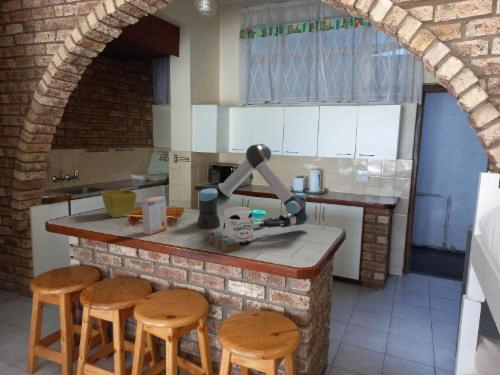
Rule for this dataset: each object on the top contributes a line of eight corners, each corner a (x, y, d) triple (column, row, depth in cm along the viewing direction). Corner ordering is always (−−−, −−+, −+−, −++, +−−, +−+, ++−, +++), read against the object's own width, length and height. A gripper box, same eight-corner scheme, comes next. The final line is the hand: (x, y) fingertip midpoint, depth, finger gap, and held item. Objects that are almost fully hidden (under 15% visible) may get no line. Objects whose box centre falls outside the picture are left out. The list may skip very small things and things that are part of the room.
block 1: (214, 240, 199) (214, 232, 198) (222, 240, 199) (222, 232, 198) (213, 242, 194) (213, 234, 194) (222, 242, 195) (222, 234, 194)
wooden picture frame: (203, 239, 199) (203, 232, 198) (218, 237, 204) (218, 229, 203) (224, 252, 179) (224, 243, 178) (240, 249, 184) (240, 241, 183)
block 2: (221, 247, 187) (221, 239, 186) (226, 245, 190) (226, 237, 190) (228, 249, 184) (228, 240, 184) (233, 246, 188) (233, 238, 187)
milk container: (244, 248, 185) (244, 214, 183) (216, 243, 193) (216, 211, 190) (258, 239, 201) (258, 208, 198) (231, 235, 208) (231, 205, 206)
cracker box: (159, 228, 220) (159, 195, 217) (167, 230, 217) (166, 196, 214) (142, 234, 209) (141, 199, 205) (149, 235, 205) (148, 200, 202)
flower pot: (128, 211, 267) (127, 189, 264) (138, 216, 252) (137, 192, 250) (102, 214, 255) (100, 191, 252) (111, 219, 240) (109, 195, 238)
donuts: (252, 213, 221) (248, 209, 231) (252, 228, 223) (248, 224, 232) (268, 212, 224) (263, 209, 233) (267, 227, 225) (263, 224, 235)
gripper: (293, 229, 209) (260, 234, 196) (280, 224, 219) (247, 229, 207) (293, 216, 207) (260, 221, 195) (280, 212, 218) (247, 216, 206)
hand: (253, 225), depth 201 cm, fingers closed
